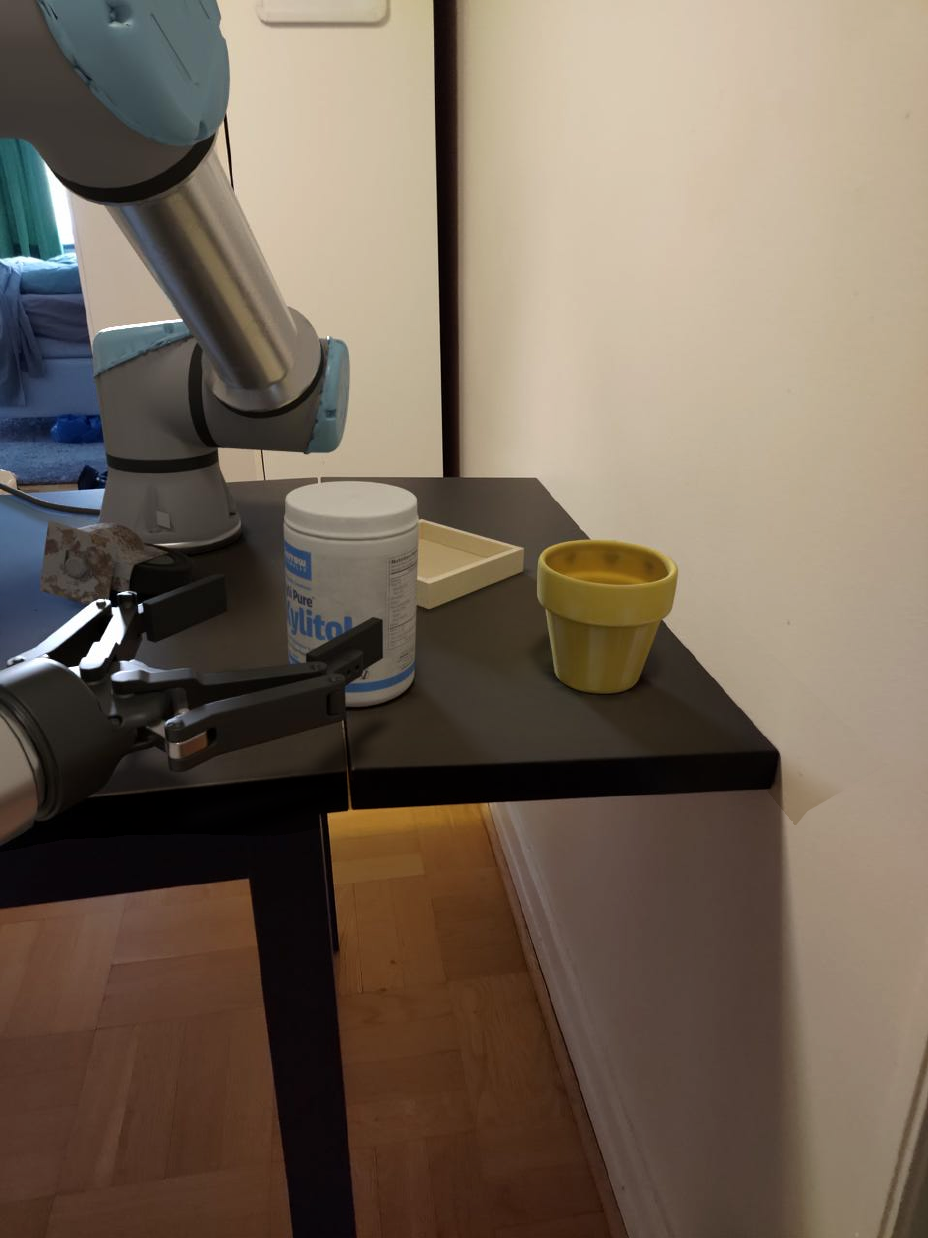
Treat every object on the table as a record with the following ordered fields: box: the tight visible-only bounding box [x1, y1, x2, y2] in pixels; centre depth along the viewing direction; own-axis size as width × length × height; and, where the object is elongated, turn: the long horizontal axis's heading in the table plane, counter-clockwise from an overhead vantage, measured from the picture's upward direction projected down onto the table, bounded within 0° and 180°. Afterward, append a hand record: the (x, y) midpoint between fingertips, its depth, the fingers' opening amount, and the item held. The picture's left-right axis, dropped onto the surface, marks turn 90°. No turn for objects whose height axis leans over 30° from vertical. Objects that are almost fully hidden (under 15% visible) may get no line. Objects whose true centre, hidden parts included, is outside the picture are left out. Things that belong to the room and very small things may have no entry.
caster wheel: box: [39, 520, 196, 607], centre depth 80 cm, size 7×11×10 cm
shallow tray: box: [416, 518, 525, 610], centre depth 88 cm, size 15×15×3 cm
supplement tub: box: [283, 480, 420, 708], centre depth 62 cm, size 10×10×15 cm
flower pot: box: [536, 539, 679, 695], centre depth 66 cm, size 10×10×10 cm
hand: (296, 613), depth 57 cm, fingers open, 13 cm apart
